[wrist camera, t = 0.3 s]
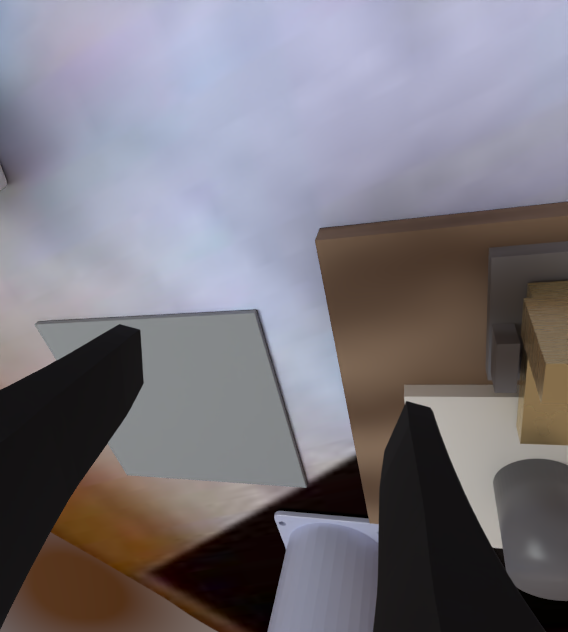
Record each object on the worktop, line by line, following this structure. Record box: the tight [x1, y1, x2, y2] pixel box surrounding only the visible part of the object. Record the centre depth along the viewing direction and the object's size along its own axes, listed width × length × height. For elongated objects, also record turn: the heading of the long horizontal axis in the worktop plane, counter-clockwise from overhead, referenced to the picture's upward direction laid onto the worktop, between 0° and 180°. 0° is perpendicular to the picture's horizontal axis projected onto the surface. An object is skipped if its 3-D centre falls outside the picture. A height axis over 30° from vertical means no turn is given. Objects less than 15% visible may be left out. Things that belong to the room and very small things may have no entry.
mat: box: [35, 310, 307, 488], centre depth 29 cm, size 14×14×1 cm
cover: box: [404, 385, 568, 601], centre depth 22 cm, size 12×12×5 cm
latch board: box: [315, 202, 568, 524], centre depth 21 cm, size 20×18×3 cm
